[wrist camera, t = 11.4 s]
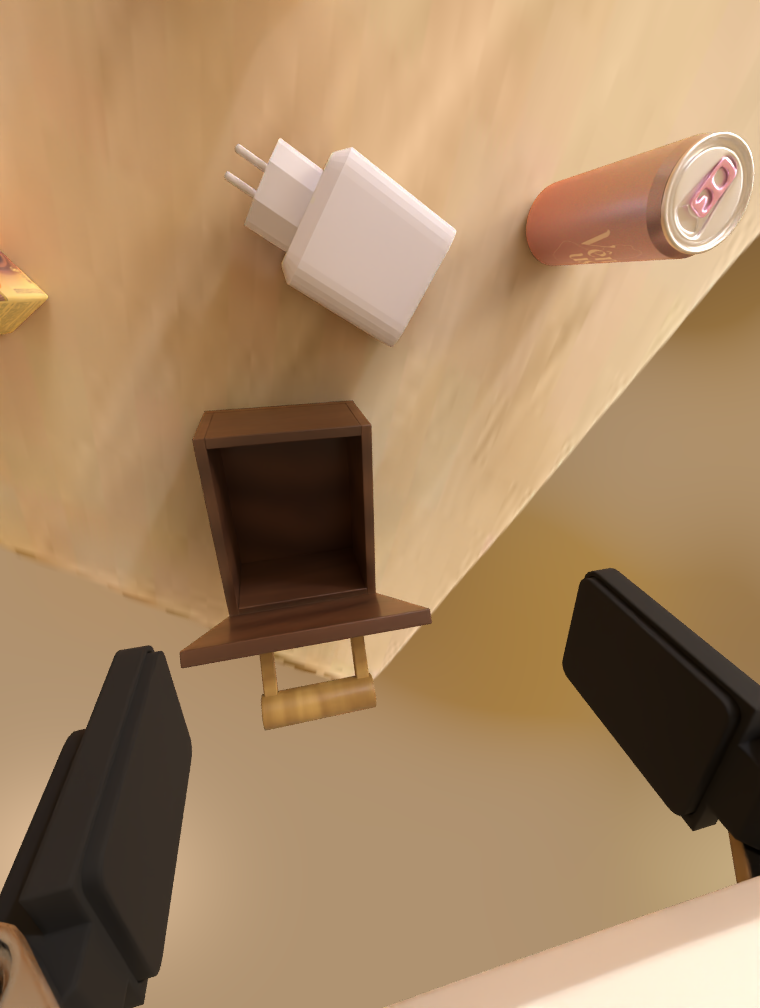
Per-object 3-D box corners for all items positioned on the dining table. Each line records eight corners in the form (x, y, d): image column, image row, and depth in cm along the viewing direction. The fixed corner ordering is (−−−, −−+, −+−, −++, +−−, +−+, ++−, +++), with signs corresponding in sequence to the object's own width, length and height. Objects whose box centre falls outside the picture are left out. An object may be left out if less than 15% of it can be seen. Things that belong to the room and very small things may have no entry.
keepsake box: (204, 411, 38) (191, 439, 31) (352, 400, 40) (371, 424, 33) (234, 566, 45) (229, 617, 38) (359, 549, 47) (375, 594, 40)
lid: (179, 651, 21) (188, 763, 21) (430, 608, 24) (445, 707, 23) (228, 616, 37) (235, 679, 37) (376, 592, 40) (384, 651, 39)
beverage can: (599, 215, 38) (776, 180, 25) (554, 280, 40) (698, 280, 27) (554, 164, 36) (723, 96, 23) (507, 236, 37) (641, 211, 24)
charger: (260, 97, 30) (437, 235, 36) (206, 234, 32) (380, 341, 38) (260, 68, 26) (460, 228, 32) (198, 228, 28) (395, 348, 34)
